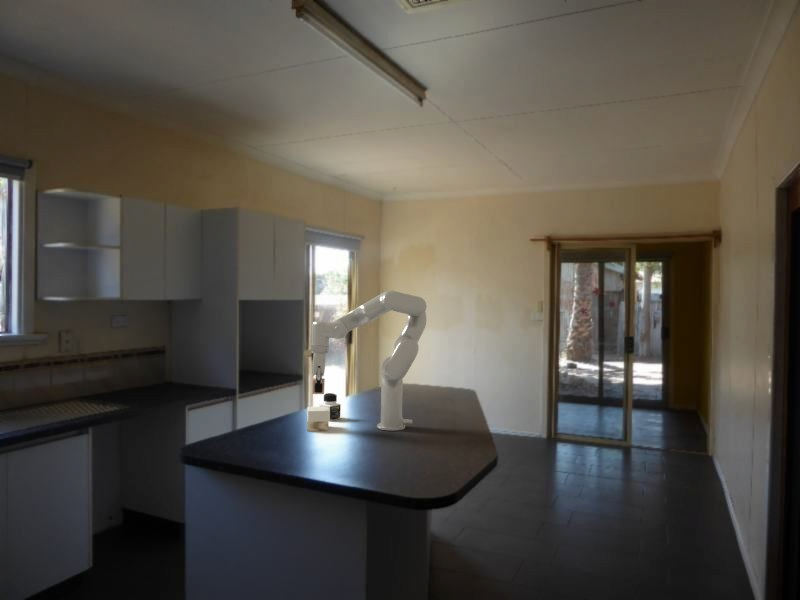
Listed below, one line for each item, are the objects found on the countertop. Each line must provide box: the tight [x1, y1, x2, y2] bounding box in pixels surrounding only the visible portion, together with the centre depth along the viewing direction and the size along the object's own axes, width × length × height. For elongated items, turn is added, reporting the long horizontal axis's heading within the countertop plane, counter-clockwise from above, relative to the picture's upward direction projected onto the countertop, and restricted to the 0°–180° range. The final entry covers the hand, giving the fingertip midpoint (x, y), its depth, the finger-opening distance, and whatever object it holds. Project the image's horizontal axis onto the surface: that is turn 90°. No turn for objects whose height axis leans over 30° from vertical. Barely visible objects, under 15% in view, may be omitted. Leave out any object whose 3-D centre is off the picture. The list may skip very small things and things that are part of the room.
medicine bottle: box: [319, 392, 341, 422], centre depth 264 cm, size 7×7×12 cm
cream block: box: [306, 406, 330, 422], centre depth 245 cm, size 9×9×4 cm
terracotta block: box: [311, 377, 326, 395], centre depth 244 cm, size 5×5×6 cm
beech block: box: [306, 419, 330, 433], centre depth 245 cm, size 9×9×4 cm
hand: (318, 390), depth 244 cm, fingers closed on terracotta block, 4 cm apart
